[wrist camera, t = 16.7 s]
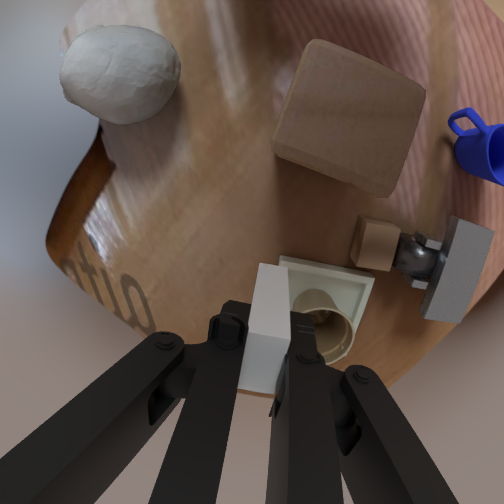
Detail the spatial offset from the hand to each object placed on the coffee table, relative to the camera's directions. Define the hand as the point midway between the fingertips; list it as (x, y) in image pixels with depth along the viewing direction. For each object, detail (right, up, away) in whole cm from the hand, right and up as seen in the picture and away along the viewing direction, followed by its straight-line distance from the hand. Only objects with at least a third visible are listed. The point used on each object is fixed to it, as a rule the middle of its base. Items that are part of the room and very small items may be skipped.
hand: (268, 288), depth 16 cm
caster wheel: (+24, +2, +25) cm, 35 cm away
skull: (-18, +27, +21) cm, 39 cm away
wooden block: (+8, +18, +21) cm, 29 cm away
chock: (+16, +4, +25) cm, 30 cm away
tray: (+9, -6, +29) cm, 31 cm away
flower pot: (+8, -6, +29) cm, 31 cm away
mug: (+31, +18, +19) cm, 40 cm away
